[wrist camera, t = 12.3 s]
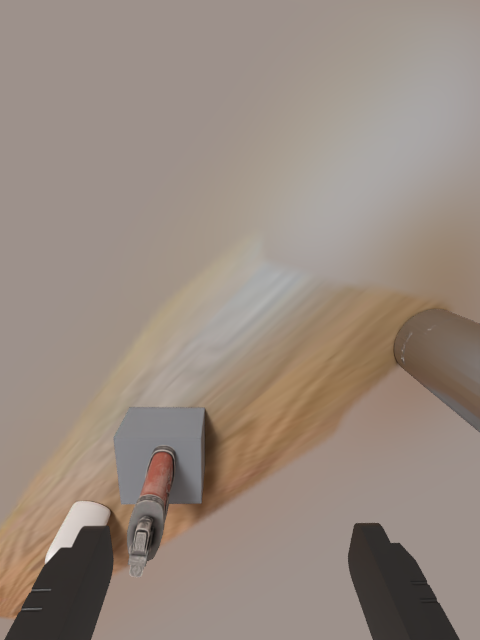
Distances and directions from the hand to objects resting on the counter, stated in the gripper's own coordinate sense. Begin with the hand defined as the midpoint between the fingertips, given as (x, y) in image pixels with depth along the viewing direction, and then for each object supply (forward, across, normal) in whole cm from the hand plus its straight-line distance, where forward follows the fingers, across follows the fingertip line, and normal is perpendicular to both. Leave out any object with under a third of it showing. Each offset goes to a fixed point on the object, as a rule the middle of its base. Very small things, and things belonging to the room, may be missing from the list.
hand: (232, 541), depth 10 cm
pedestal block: (+28, +8, +19) cm, 35 cm away
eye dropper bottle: (+28, +20, +32) cm, 47 cm away
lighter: (+22, +8, +19) cm, 30 cm away
